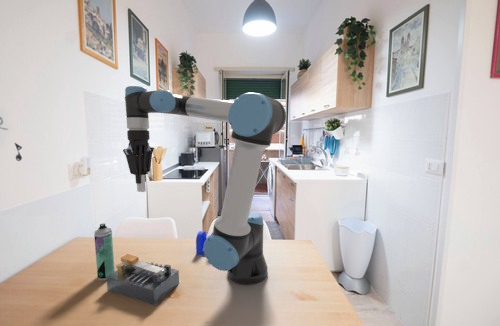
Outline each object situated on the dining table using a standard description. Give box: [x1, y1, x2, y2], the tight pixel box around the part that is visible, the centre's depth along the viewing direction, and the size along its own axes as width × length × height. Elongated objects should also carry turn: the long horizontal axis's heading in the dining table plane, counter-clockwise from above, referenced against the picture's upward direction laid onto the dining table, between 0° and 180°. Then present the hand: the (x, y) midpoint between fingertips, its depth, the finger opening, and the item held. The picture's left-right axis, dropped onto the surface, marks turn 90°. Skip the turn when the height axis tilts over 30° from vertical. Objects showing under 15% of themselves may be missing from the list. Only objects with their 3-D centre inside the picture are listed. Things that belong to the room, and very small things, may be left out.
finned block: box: [106, 261, 180, 306], centre depth 85 cm, size 20×12×9 cm, turn 69°
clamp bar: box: [120, 253, 167, 277], centre depth 84 cm, size 17×3×3 cm, turn 69°
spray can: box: [93, 223, 116, 281], centre depth 90 cm, size 6×6×20 cm
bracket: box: [195, 230, 213, 256], centre depth 116 cm, size 18×8×9 cm, turn 169°
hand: (141, 191), depth 95 cm, fingers closed
